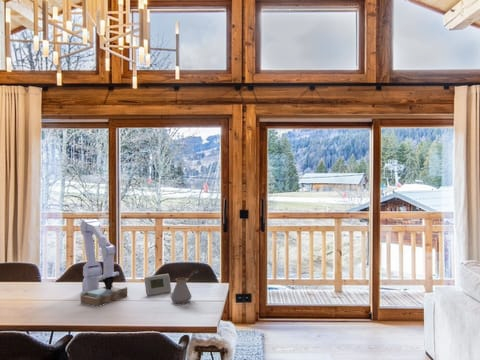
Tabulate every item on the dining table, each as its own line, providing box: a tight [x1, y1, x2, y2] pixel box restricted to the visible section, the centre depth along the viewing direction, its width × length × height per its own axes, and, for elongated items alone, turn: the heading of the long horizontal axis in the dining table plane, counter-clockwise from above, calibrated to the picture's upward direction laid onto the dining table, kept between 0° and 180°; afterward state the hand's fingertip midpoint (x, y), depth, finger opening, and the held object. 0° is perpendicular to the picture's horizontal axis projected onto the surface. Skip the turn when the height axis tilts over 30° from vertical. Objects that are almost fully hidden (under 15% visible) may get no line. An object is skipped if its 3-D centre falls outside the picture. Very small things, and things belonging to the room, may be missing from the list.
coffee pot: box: [170, 269, 199, 305], centre depth 222 cm, size 21×12×15 cm, turn 153°
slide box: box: [80, 284, 128, 307], centre depth 222 cm, size 22×13×5 cm, turn 152°
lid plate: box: [88, 287, 113, 297], centre depth 219 cm, size 10×9×2 cm
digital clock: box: [144, 273, 172, 297], centre depth 235 cm, size 16×9×11 cm, turn 115°
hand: (108, 290), depth 224 cm, fingers closed
